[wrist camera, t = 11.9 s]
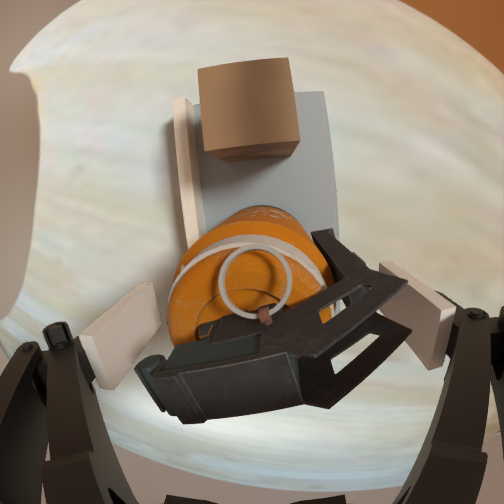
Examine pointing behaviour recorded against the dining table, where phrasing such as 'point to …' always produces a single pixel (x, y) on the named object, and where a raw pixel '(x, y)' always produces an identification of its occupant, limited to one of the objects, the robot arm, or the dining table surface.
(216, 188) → the shelf board
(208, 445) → the dining table surface
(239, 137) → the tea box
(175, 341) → the canister
